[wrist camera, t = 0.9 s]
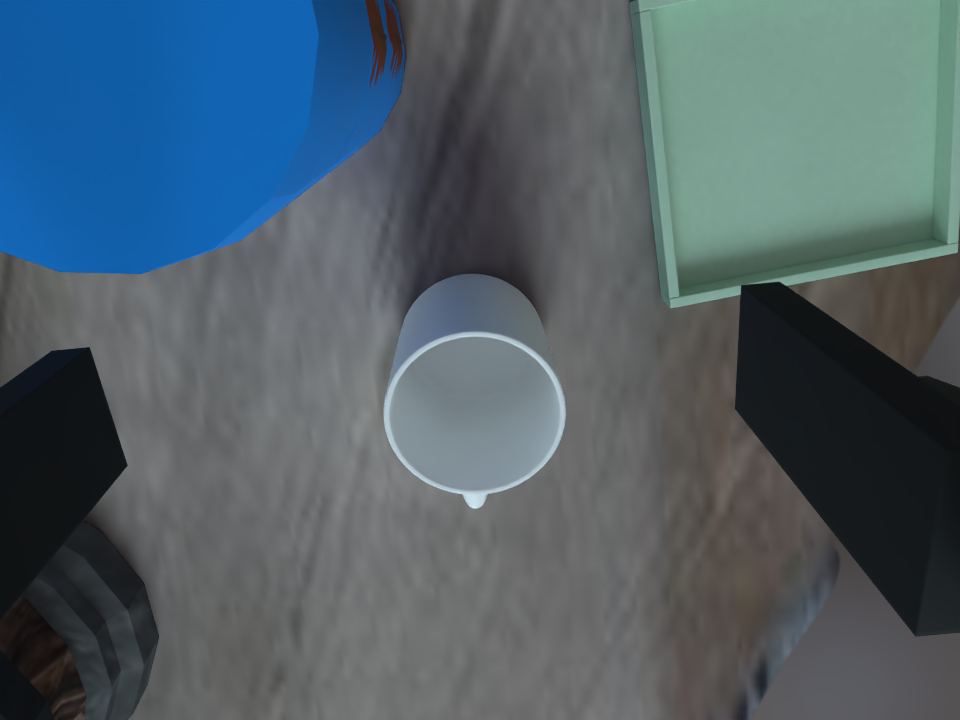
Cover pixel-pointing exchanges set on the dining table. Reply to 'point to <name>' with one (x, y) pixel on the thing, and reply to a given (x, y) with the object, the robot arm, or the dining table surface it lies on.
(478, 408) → the mug
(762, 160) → the tray
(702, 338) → the dining table surface
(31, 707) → the bucket
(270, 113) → the thermos
